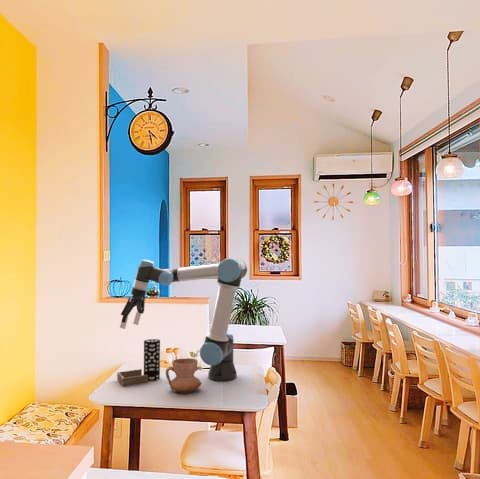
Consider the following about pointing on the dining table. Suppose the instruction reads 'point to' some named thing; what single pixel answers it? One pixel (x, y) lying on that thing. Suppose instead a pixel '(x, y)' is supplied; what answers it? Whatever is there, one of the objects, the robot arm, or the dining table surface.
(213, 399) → the dining table surface
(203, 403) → the dining table surface
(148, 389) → the dining table surface
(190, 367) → the ceramic jug
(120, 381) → the tray
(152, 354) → the white-spotted black cylinder
